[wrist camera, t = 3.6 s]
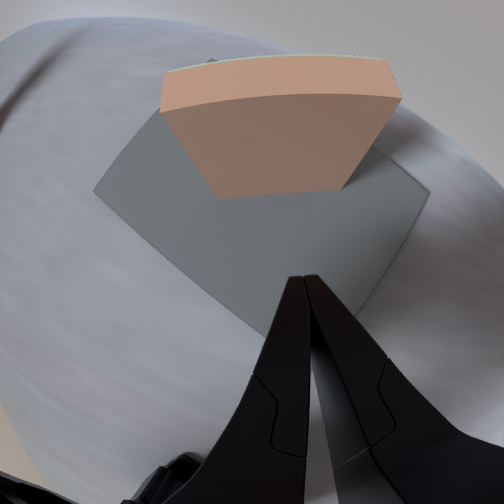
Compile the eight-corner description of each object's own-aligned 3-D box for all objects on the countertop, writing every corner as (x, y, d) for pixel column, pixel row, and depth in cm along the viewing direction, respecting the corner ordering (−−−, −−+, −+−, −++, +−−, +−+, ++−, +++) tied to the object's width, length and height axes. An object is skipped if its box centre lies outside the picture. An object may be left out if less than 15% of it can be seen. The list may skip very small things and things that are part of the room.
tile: (340, 189, 15) (402, 98, 6) (218, 200, 16) (159, 113, 7) (335, 161, 15) (383, 56, 6) (217, 171, 16) (164, 69, 7)
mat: (424, 195, 15) (429, 193, 15) (310, 367, 15) (311, 371, 14) (212, 63, 18) (211, 58, 17) (96, 193, 17) (92, 190, 17)
